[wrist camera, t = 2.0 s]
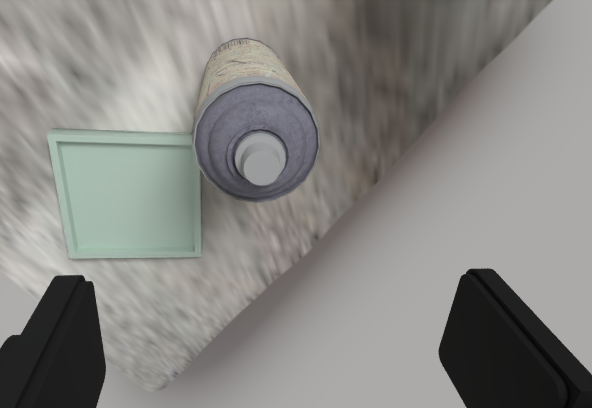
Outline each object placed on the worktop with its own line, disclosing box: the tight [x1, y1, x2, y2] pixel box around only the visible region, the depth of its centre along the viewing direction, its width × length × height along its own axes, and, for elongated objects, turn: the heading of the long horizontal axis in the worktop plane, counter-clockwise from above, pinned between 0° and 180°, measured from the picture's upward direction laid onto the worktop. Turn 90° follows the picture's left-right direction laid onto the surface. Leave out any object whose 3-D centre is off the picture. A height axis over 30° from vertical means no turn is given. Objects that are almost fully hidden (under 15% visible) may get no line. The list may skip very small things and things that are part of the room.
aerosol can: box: [192, 38, 320, 203], centre depth 29 cm, size 7×7×20 cm
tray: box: [47, 129, 202, 259], centre depth 40 cm, size 12×12×2 cm
